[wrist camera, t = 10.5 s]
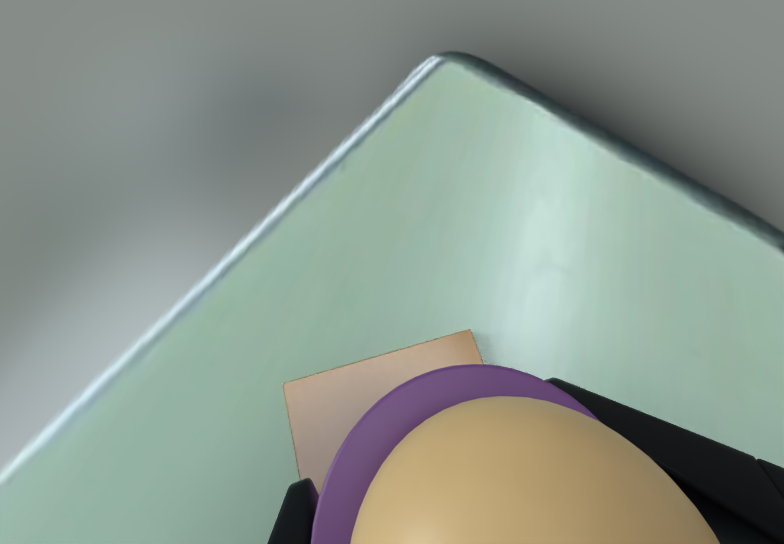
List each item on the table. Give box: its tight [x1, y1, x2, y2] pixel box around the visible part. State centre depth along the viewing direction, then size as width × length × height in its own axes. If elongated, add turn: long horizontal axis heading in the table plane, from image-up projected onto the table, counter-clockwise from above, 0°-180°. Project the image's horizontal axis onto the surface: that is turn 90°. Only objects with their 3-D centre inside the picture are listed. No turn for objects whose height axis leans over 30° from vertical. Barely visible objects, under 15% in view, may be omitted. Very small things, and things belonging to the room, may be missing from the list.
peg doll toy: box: [311, 364, 720, 544], centre depth 8 cm, size 5×5×12 cm
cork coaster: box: [283, 329, 483, 496], centre depth 18 cm, size 10×10×1 cm
